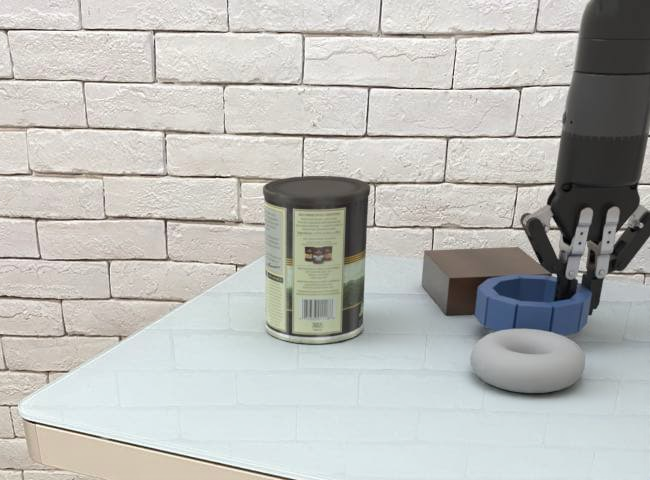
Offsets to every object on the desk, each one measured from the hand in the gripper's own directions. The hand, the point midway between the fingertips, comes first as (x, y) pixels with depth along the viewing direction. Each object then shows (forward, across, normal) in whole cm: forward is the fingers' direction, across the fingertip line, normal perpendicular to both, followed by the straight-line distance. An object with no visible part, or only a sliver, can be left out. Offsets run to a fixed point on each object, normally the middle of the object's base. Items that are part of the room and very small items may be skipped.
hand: (574, 312), depth 96 cm
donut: (+2, -8, -11) cm, 14 cm away
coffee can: (+2, -26, +5) cm, 26 cm away
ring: (0, -4, 0) cm, 5 cm away
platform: (+2, -6, +12) cm, 14 cm away
